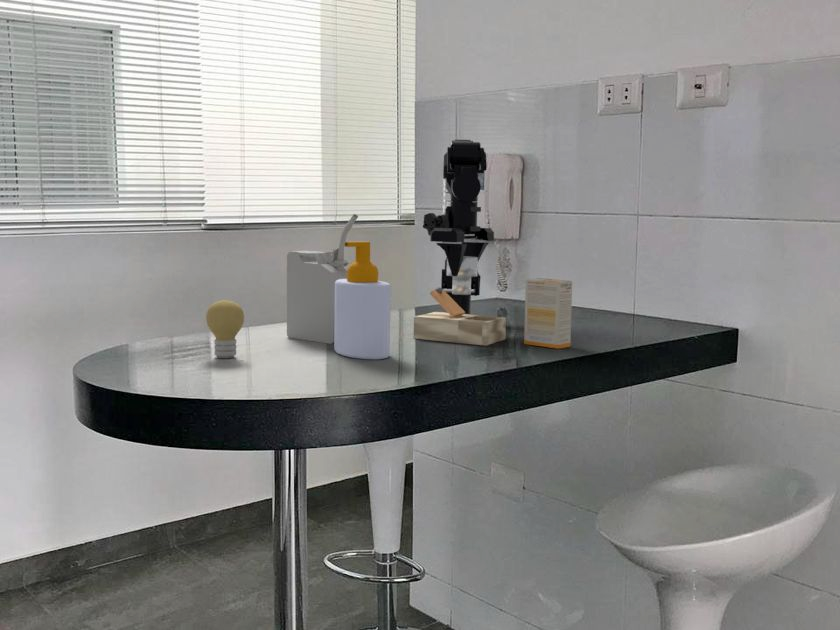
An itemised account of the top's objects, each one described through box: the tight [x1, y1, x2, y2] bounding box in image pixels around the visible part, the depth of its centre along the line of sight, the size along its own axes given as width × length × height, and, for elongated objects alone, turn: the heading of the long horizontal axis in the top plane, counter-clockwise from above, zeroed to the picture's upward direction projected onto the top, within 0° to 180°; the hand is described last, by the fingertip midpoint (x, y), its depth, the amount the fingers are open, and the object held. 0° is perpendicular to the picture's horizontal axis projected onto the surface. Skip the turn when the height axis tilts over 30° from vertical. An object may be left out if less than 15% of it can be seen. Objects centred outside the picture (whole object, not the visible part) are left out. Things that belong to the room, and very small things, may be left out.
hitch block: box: [413, 311, 507, 346], centre depth 181 cm, size 10×16×4 cm, turn 63°
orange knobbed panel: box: [429, 286, 465, 317], centre depth 182 cm, size 7×5×2 cm
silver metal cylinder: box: [447, 256, 479, 296], centre depth 190 cm, size 7×7×8 cm
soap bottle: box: [333, 241, 392, 361], centre depth 160 cm, size 13×8×20 cm, turn 37°
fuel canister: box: [286, 213, 359, 345], centre depth 175 cm, size 15×5×25 cm, turn 53°
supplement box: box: [523, 277, 573, 350], centre depth 174 cm, size 8×5×13 cm, turn 47°
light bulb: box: [205, 299, 245, 359], centre depth 154 cm, size 6×6×10 cm
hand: (462, 275), depth 190 cm, fingers closed on silver metal cylinder, 7 cm apart
